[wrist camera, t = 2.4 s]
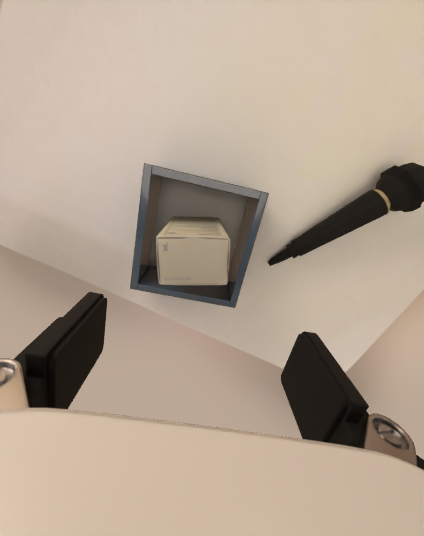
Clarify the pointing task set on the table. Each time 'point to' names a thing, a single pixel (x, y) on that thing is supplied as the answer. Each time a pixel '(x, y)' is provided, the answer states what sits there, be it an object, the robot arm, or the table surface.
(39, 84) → the table surface
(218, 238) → the cosmetic box
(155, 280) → the open box
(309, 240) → the microphone
